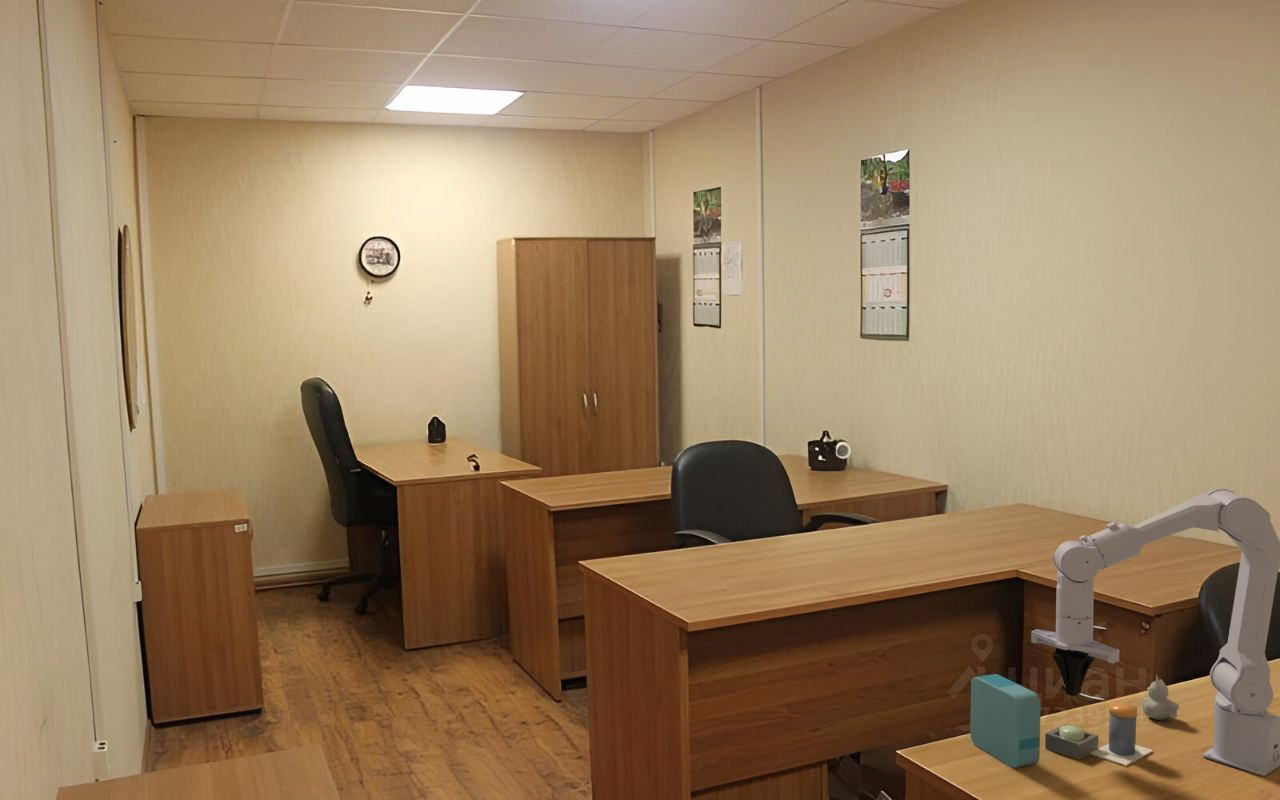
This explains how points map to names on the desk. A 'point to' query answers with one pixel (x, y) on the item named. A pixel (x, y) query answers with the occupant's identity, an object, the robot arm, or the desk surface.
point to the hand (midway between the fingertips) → (1073, 693)
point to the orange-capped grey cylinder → (1122, 728)
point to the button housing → (1071, 744)
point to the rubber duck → (1159, 702)
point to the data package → (1005, 720)
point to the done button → (1072, 732)
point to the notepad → (1120, 759)
